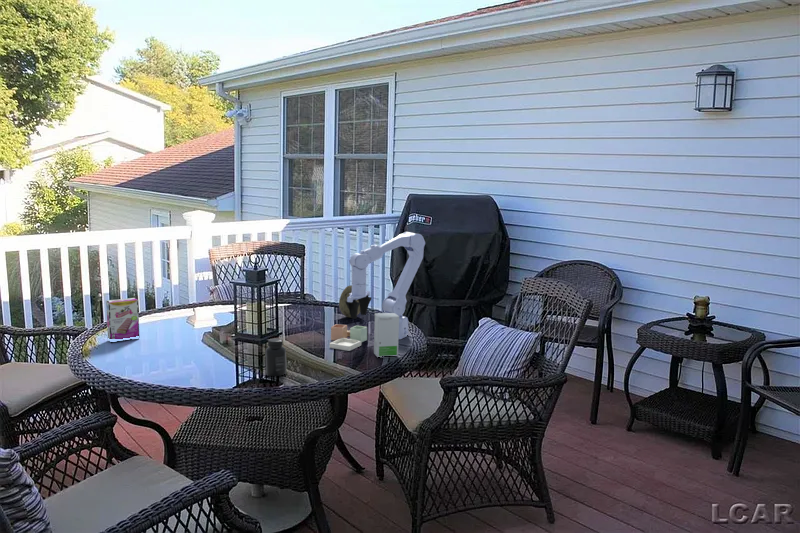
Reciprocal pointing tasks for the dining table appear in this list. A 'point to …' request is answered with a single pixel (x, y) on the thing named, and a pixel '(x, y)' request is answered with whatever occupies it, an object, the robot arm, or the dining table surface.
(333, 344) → the tray
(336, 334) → the pot terracotta
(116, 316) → the candy bar box
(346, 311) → the decorative egg
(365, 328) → the pot green
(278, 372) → the supplement bottle
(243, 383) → the dining table surface
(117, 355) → the dining table surface
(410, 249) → the robot arm
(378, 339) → the skincare box
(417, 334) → the dining table surface
